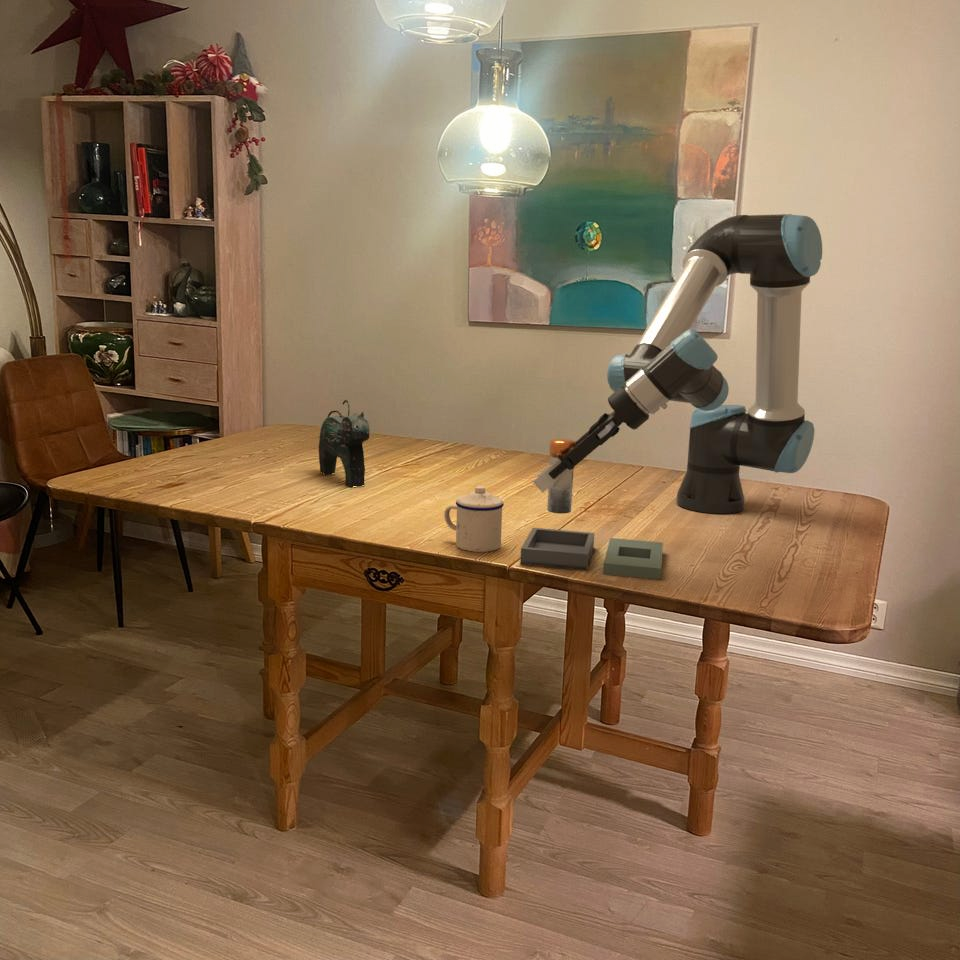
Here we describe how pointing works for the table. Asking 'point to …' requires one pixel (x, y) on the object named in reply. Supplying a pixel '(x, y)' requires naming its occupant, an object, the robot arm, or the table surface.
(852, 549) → the table surface
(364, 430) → the ceramic cat
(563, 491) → the pepper shaker
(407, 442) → the table surface
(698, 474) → the robot arm
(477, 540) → the teacup with lid
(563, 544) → the tray
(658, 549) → the green holder base
